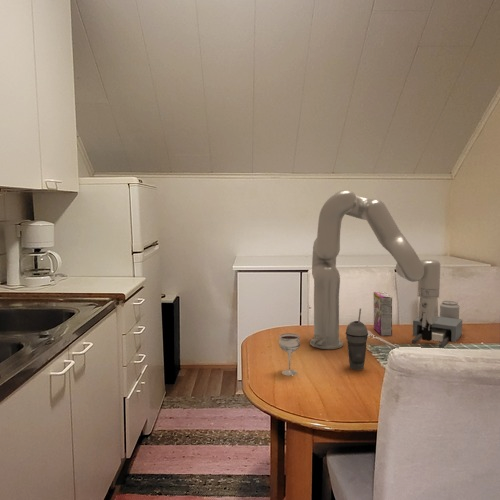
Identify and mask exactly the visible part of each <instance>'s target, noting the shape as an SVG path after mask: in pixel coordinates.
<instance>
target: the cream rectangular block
mask: <svg viewBox="0 0 500 500" xmlns="http://www.w3.org/2000/svg"><path fill="white" fill-rule="evenodd" d="M430 330H431V329H430ZM447 335H448V329H442V328H435V327H432V340H431V341H433V340H434V342H439V341H440V342H439V343H441V342H442V341H443V340H444V339H445V338H446V336H447Z"/></svg>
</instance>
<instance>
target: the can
mask: <svg viewBox="0 0 500 500" xmlns="http://www.w3.org/2000/svg"><path fill="white" fill-rule="evenodd" d="M439 317H447V318H455V319H460V306H459V302H457V301H456V300H455V301H454V300H442V301H441V303H440V304H439Z"/></svg>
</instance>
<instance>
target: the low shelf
mask: <svg viewBox="0 0 500 500" xmlns="http://www.w3.org/2000/svg"><path fill="white" fill-rule="evenodd" d="M432 327H435V328H442V329H448V335H447V336H446V338H445V339H444V340H443V341H442V342H439V344H438V348H439V347H443V348H444V347H446V345H447V344H448V343H449V341H451V343H457V341H458V340H459V339H460V338H461V336H462V335H463V319H462V318H459V319H455V318H447V317H440V315H438V320H437V321H436V322H435V323H433V324H432ZM412 336H413V337H414V338H413V339H412V340H411V344H416V343H418V342H419V341H420V340H422V323H420V322H419V316H417V317H416V318H415V319H413V320H412ZM417 341H418V342H417Z"/></svg>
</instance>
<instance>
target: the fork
mask: <svg viewBox="0 0 500 500" xmlns="http://www.w3.org/2000/svg"><path fill="white" fill-rule="evenodd" d="M370 335H371V336H372V335H373V338H372V339H376V340H378V341H380V342H382V343H384V344H387V345H389V346H391V347H394V348H396V349H398V348H397V347H398V346H397V345H395V344H393V343H391V342H389V341H387V340H385V339H384V338H381V337H379V336H376V337H374V336H375V335H374V334H373V333H372V332H371V331H370V330H368V336H370Z"/></svg>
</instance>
